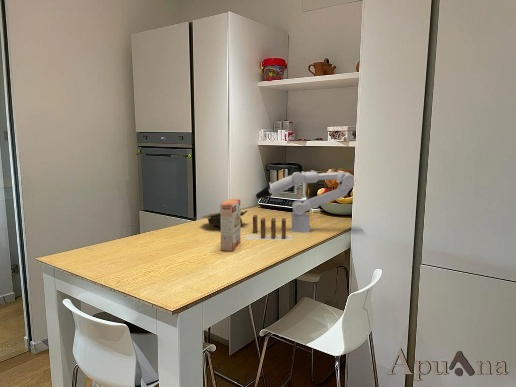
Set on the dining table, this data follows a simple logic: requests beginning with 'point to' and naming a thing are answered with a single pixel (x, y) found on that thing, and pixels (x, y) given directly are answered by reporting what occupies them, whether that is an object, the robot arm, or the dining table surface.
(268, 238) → the mat
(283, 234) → the tile
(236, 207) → the cracker box
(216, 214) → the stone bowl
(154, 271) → the dining table surface
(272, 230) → the brown wooden block
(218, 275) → the dining table surface
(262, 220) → the brown wooden block
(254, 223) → the brown wooden block
